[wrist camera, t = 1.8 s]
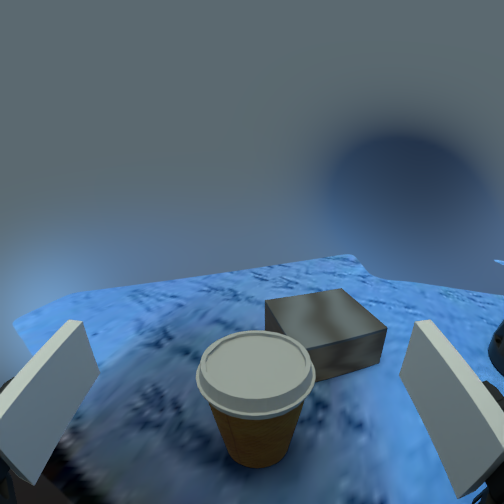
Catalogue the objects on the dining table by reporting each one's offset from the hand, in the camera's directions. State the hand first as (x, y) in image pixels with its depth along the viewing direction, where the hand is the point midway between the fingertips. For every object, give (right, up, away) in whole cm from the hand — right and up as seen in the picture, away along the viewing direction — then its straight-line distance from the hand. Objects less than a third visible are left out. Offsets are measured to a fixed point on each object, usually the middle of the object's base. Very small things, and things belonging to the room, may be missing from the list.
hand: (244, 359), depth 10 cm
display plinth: (+10, -10, +31) cm, 34 cm away
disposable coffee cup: (+1, -16, +15) cm, 22 cm away
